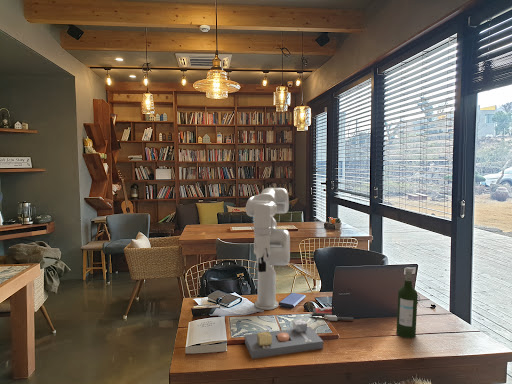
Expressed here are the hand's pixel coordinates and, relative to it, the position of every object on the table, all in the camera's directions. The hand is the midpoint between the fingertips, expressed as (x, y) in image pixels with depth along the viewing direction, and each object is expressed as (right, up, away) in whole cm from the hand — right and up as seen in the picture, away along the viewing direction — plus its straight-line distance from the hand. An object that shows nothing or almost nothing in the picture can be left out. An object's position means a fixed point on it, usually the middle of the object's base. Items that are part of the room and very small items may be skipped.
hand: (262, 271), depth 154 cm
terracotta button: (+9, -27, -11) cm, 30 cm away
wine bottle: (+64, -28, -1) cm, 70 cm away
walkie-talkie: (+35, -27, +16) cm, 46 cm away
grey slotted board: (+9, -28, -11) cm, 31 cm away
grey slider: (+16, -24, -5) cm, 30 cm away
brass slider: (+1, -25, -16) cm, 30 cm away
